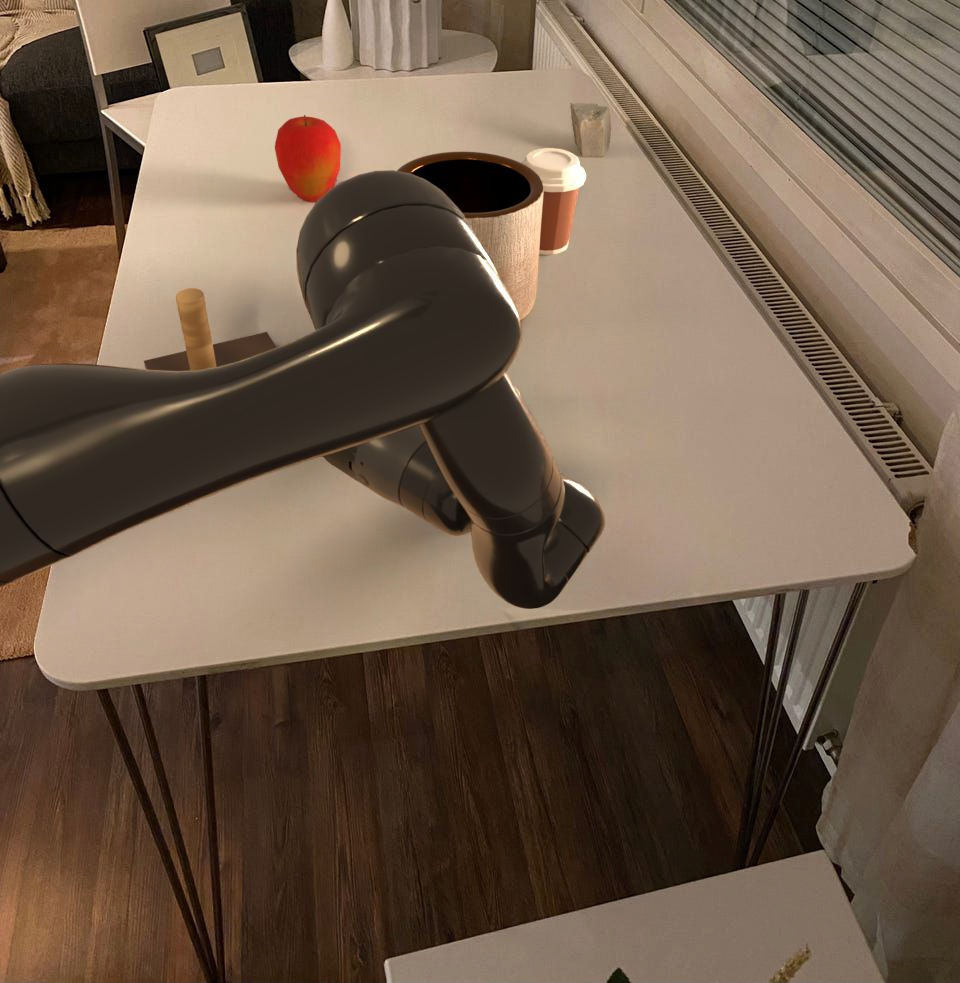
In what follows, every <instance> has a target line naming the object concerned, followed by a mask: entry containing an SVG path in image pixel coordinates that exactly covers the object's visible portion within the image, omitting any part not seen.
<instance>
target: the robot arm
mask: <svg viewBox="0 0 960 983" xmlns="http://www.w3.org/2000/svg"><path fill="white" fill-rule="evenodd" d="M295 258H296V259H295V260H296V265H295V266H296V275H297V280H298V284H299V288H300V292H301V298H302V300H303V302H304V305H305V307H306V308H305V309H306V310H307V313H308V315H309V318H310V320H311V322H312V325H313V328H314V331H312V332H310V333H308V334H306V335H304V336H301V337H299V338H296V339H294V340H292V341H289V342H287V343H285V344H283V345H280V346H276V347H277V348H274V349H272V350H269V351H266V352H263V353H260V354H258V355H255V356H252V357H249V358H247V359H244V360H241V361H238V362H234V363H231V364H227V365H223V366H219V367H214V368H208V369H202V370H191V371H162V370H147V369H145V368H137V367H136V368H135V367H125V366H118V365H117V366H115V365H105V364H92V363H73V362H72V363H71V362H62V363H61V362H60V363H58V362H57V363H39V364H31V365H24V366H20V367H16V368H13V369H9V370H7V371H4V372H1V373H0V588H1V587H3V586H6V585H8V584H11V583H14V582H16V581H18V580H21V579H23V578H26V577H28V576H30V575H33V574H35V573H37V572H40V571H42V570H44V569H47V568H49V567H51V566H53V565H56V564H58V563H60V562H63V561H65V560H68V559H70V558H72V557H75V556H77V555H79V554H82V553H83V552H86V551H88V550H90V549H92V548H94V547H96V546H98V545H100V544H102V543H104V542H106V541H108V540H110V539H113V538H114V537H116V536H120V535H122V534H123V533H125V532H127V531H129V530H131V529H135V528H136V527H139V526H141V525H144V524H146V523H148V522H149V523H150V522H152V521H153V520H155V519H158V518H161V517H163V516H166V515H168V514H170V513H173V512H175V511H178V510H180V509H182V508H185V507H187V506H190V505H191V504H194V503H197V502H199V501H201V500H204V499H206V498H210V497H212V496H214V495H217V494H220V493H222V492H225V491H227V490H230V489H232V488H234V487H238V486H240V485H242V484H246V483H249V482H251V481H253V480H256V479H258V478H261V477H264V476H267V475H269V474H273V473H275V472H279V471H282V470H285V469H287V468H291V467H294V466H297V465H300V464H304V463H307V462H309V461H314V460H316V459H319V458H324V460H325V461H326V462H327V463H328V464H330V465H331V466H332V467H334V468H336V469H338V470H339V471H341V472H342V473H344V474H346V475H347V476H348V477H350V478H352V479H353V480H355V481H356V482H358V483H360V484H361V485H362V486H364V487H365V488H367V489H369V490H371V491H372V492H374V493H375V494H376V495H378V496H380V497H381V498H383V499H384V500H387V501H389V502H391V503H394V504H397V505H399V506H401V507H402V508H403V509H404V508H405V509H406V510H408V511H409V512H410V513H412V514H414V515H415V516H417V517H418V518H420V519H422V521H425V522H426V523H428V524H429V525H431V526H432V527H434V528H435V529H437V530H439V531H440V532H442V533H444V534H447V535H449V536H453V537H462V536H466V535H468V534H470V535H471V544H472V545H471V546H472V552H473V553H472V554H473V557H474V560H475V561H474V562H475V564H476V566H477V569H478V571H479V573H480V575H481V577H482V578H483V580H484V582H485V583H486V584H487V586H488V587H489V588H490V589H491V590H492V591H493V592H494V593H495V595H496V596H497V597H499V598H500V599H501V600H503V601H504V602H506V603H508V605H509V604H510V605H511V606H514V607H515V608H516V607H517V608H519V609H525V610H535V609H541V608H543V607H546V606H548V605H549V604H551V603H553V601H555V600H556V599H557V598H558V597H559V595H561V593H562V592H563V590H564V589H565V588H566V586H567V584H568V583H569V582H570V581H571V579H572V577H573V576H574V574H575V573H576V572H577V570H578V569H579V568H580V566H581V565H582V564H583V562H584V561H585V559H586V558H587V557H588V555H589V554H590V552H591V551H592V550H593V549H594V547H595V545H596V544H597V542H598V541H599V540H600V538H601V537H602V535H603V533H604V530H605V528H606V515H605V512H604V509H603V507H602V505H601V503H600V502H599V500H598V498H597V497H596V496H595V494H593V493H592V492H591V491H590V490H589V489H588V488H587V487H585V486H584V485H583V484H581V483H579V482H577V481H575V480H573V479H571V478H569V477H566V476H564V475H562V474H561V471H560V469H559V468H558V465H557V463H556V461H555V459H554V456H553V454H552V452H551V450H550V448H549V445H548V443H547V441H546V438H545V437H544V435H543V433H542V431H541V430H540V428H539V426H538V424H537V422H536V421H535V418H534V417H533V415H532V414H531V412H530V411H529V409H528V406H526V404H525V402H524V400H523V398H522V397H521V394H520V395H519V393H518V392H517V390H516V388H517V387H516V386H515V385H514V383H513V381H512V379H511V378H510V376H509V374H508V373H507V372H508V370H509V368H510V367H511V366H512V365H513V362H514V361H515V359H516V358H517V356H518V353H519V350H520V347H521V344H522V340H523V327H522V320H521V321H520V318H519V315H518V312H517V309H516V307H515V305H514V303H513V301H512V299H511V297H510V295H509V293H508V291H507V289H506V287H505V286H504V284H503V282H502V280H501V278H500V277H499V276H498V274H497V272H496V270H495V268H494V266H493V264H492V263H491V261H490V259H489V257H488V255H487V254H486V252H485V250H484V248H483V247H482V245H481V243H480V241H479V240H478V238H477V236H476V234H475V233H474V231H473V230H472V228H471V226H470V225H469V223H468V221H467V220H466V218H465V216H464V215H463V213H462V212H461V211H460V209H459V208H458V207H457V206H456V205H455V204H454V203H453V202H452V201H451V200H450V199H449V197H448V196H447V195H446V194H445V193H444V192H443V191H442V190H440V189H439V188H437V187H436V186H434V185H433V184H431V183H430V182H428V181H427V180H425V179H423V178H420V177H418V176H415V175H413V174H410V173H405V172H400V171H397V170H395V169H394V170H391V169H390V170H372V171H369V172H364V173H360V174H357V175H355V176H352V177H350V178H347V179H345V180H343V181H341V182H339V183H337V184H335V185H334V187H333V188H332V189H330V190H329V191H328V192H327V193H326V194H325V195H324V196H323V197H322V198H320V199H319V200H318V201H315V204H314V205H313V206H312V208H311V209H310V210H309V212H308V214H307V215H306V217H305V219H304V221H303V223H302V226H301V228H300V231H299V233H298V239H297V244H296V249H295ZM514 386H515V387H516V388H515V387H514Z"/></svg>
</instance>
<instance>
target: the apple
mask: <svg viewBox="0 0 960 983" xmlns="http://www.w3.org/2000/svg"><path fill="white" fill-rule="evenodd" d="M341 147H342V144H341V140H340V139H339V136H338V134H337V131H336V130H335V129H334V128H333V127H332V126H331V125H330V124H329V123H328V122H326V121H325V120H324V119H320V118H318V117H313V116H306V114H304V115H303V116H297V117H292V118H289V119H288V120H286V121H285V122H284V123H283V124H282V125H281V126H280V127H279V128H278V130H277V134H276V137H275V142H274V153H275V157H276V161H277V167H278V169H279V171H280V173H281V175H282V177H283V179H284V181H285V183H286V185H287V187H288V188H289V190H290V191H291V192H292V193H293V194H294V195H296V196H297V197H298V198H299V199H301V200H302V201H304V202H307V203H314V202H315V203H316V202H317V201H318V200H319V199H320V198H322V197H323V196H324V195H325V194H326V193H327V192H328V191H329V190H330V189H332V188H333V187H335V186H336V182H337V179H338V176H339V174H340V170H341V159H342V158H341V156H342V148H341Z"/></svg>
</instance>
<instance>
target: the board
mask: <svg viewBox="0 0 960 983" xmlns="http://www.w3.org/2000/svg"><path fill="white" fill-rule="evenodd" d="M277 347H278V346H277V345H276V343H275V342H274V341H273V339H272V337H271V336H270V334H269V332H268V331H263V332H259V333H255V334H251V335H246V336H242V337H239V338H233V339H230V340H226V341H221V342H217V343H213V349H214V355H215V360H216V366H217V367H219V366H223V365H227V364H231V363H234V362H238V361H241V360H244V359H247V358H249V357H252V356H255V355H258V354H260V353H263V352H266V351H269V350H272V349H274V348H277ZM143 365H144V369H147V370H162V371H190V367H189V362H188V357H187V352H186V350H183V351H179V352H175V353H170V354H166V355H162V356H158V357H154V358H149V359H145V360H143Z"/></svg>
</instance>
